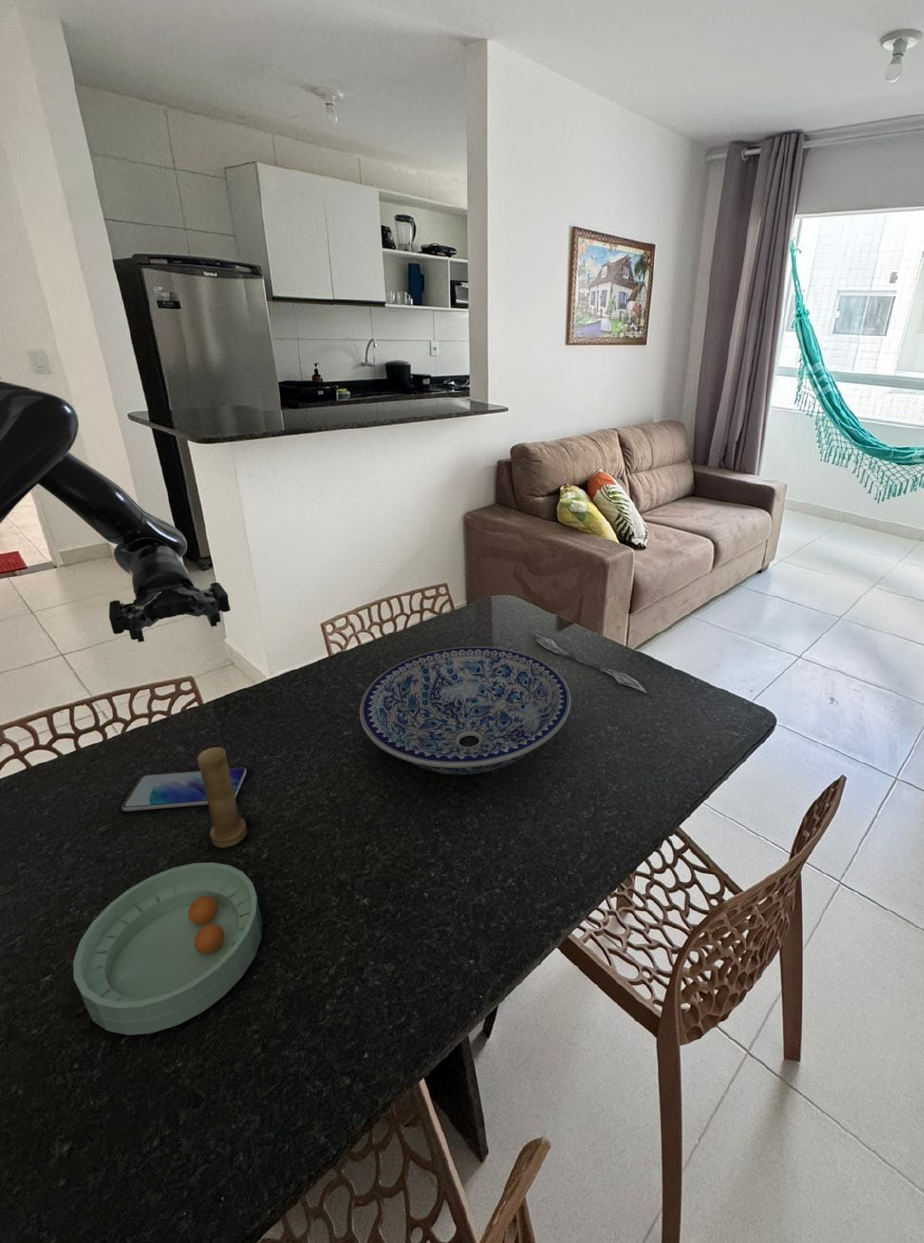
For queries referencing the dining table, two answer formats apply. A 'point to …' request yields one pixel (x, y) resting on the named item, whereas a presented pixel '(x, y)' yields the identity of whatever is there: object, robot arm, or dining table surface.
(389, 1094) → the dining table surface
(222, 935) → the bead
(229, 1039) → the dining table surface
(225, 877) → the pale green shallow dish
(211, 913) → the bead
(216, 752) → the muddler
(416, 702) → the ceramic bowl
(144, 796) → the smartphone
